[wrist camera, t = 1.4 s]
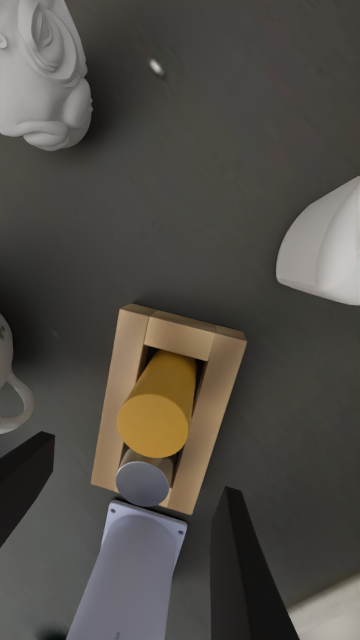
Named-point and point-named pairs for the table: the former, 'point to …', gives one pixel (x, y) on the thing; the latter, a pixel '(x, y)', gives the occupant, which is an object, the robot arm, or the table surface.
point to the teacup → (12, 380)
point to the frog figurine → (42, 75)
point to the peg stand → (208, 407)
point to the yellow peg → (160, 406)
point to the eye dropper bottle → (325, 247)
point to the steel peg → (144, 478)
